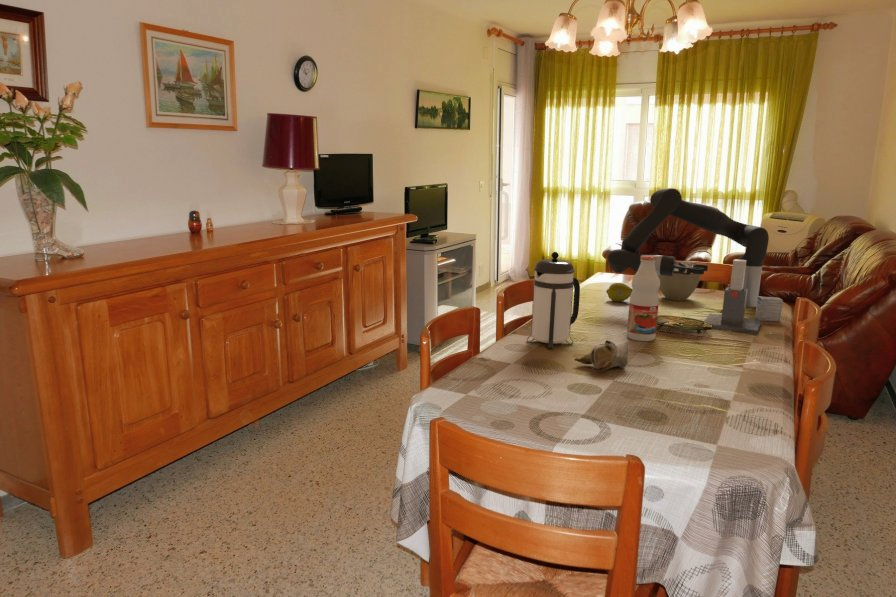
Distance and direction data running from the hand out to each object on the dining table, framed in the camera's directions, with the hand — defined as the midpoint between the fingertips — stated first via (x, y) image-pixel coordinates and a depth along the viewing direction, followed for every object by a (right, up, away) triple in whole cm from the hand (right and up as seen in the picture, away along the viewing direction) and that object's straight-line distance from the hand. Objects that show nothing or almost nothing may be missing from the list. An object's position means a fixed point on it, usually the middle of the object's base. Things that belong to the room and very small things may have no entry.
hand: (705, 269), depth 241 cm
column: (+9, -18, -1) cm, 20 cm away
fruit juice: (-30, -24, -20) cm, 44 cm away
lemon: (-23, -12, +34) cm, 43 cm away
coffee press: (-62, -25, -28) cm, 72 cm away
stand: (+9, -21, -1) cm, 23 cm away
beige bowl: (+4, -11, +42) cm, 44 cm away
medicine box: (+27, -19, +9) cm, 34 cm away
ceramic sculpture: (-50, -31, -53) cm, 79 cm away
